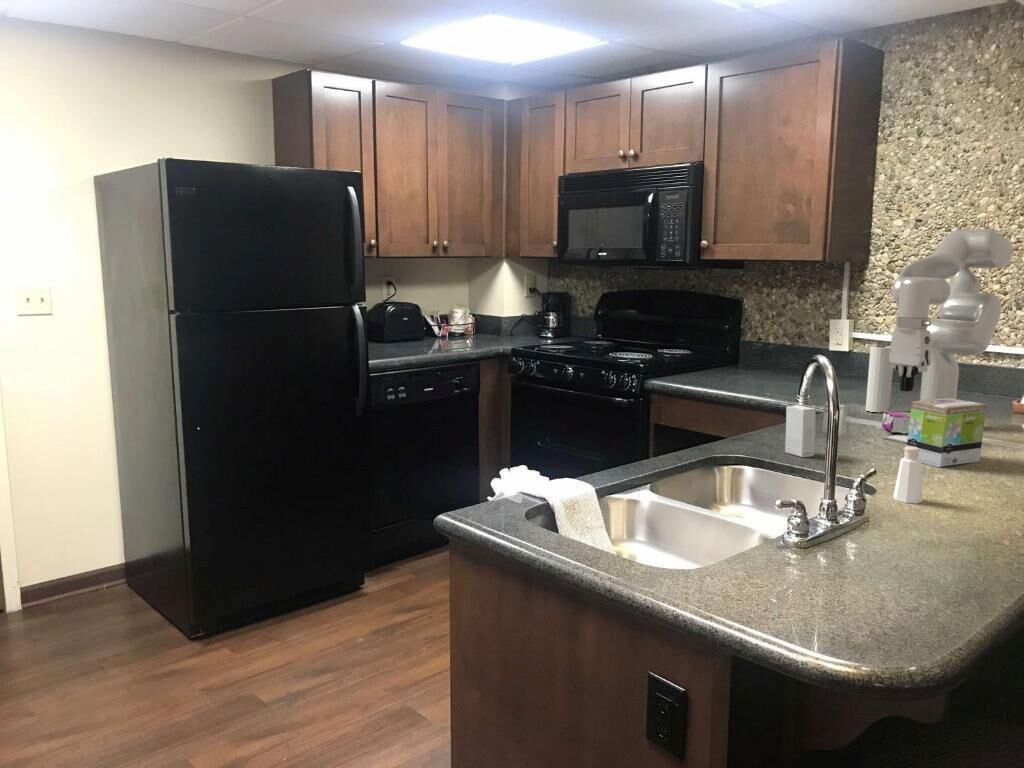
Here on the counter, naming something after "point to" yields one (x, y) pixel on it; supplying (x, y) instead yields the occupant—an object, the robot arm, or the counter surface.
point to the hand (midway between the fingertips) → (906, 390)
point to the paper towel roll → (879, 379)
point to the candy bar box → (896, 422)
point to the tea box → (947, 431)
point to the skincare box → (800, 430)
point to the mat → (898, 438)
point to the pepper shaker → (909, 477)
